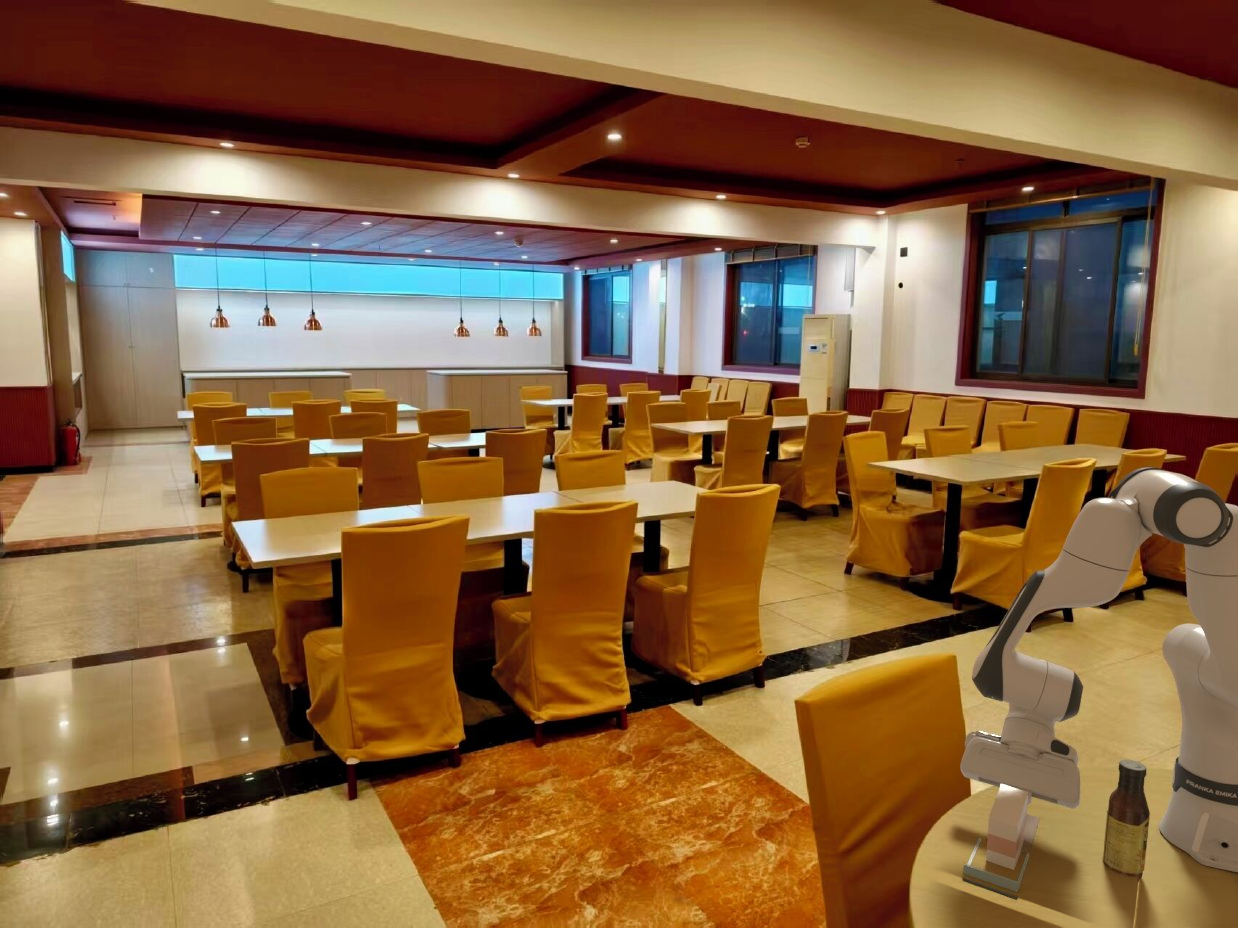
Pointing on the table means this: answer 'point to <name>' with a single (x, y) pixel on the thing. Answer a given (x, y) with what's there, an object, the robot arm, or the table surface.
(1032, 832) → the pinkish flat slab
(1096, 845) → the table surface
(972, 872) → the tray
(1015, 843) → the tile stack
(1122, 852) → the sauce bottle
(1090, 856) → the table surface
